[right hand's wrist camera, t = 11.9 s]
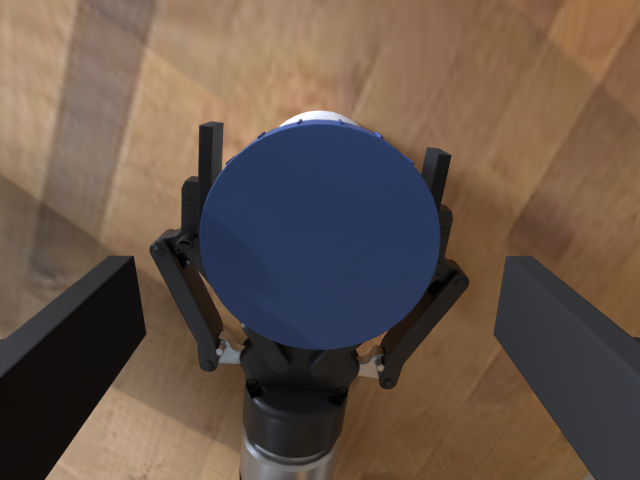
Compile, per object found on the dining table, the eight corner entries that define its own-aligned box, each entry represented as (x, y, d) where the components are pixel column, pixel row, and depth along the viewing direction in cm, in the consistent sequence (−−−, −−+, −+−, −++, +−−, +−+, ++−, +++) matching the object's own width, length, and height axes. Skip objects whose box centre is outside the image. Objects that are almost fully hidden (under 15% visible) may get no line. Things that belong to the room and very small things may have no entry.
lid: (185, 138, 18) (167, 145, 16) (419, 98, 17) (433, 99, 15) (238, 336, 21) (229, 364, 19) (436, 308, 20) (449, 333, 18)
